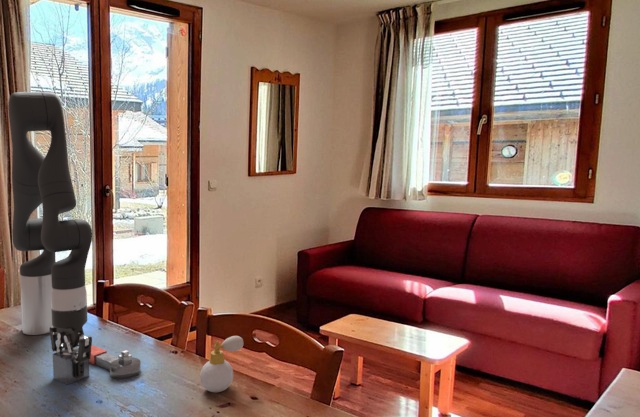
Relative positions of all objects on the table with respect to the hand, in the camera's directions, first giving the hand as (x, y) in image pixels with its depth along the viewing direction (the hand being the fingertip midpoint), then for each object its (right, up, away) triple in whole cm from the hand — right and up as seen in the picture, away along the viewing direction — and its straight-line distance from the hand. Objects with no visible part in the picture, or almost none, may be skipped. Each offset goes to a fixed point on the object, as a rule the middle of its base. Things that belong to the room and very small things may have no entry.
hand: (71, 373), depth 121 cm
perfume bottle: (+36, -3, -3) cm, 36 cm away
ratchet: (+6, 0, +7) cm, 9 cm away
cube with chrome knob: (0, -1, 0) cm, 1 cm away
